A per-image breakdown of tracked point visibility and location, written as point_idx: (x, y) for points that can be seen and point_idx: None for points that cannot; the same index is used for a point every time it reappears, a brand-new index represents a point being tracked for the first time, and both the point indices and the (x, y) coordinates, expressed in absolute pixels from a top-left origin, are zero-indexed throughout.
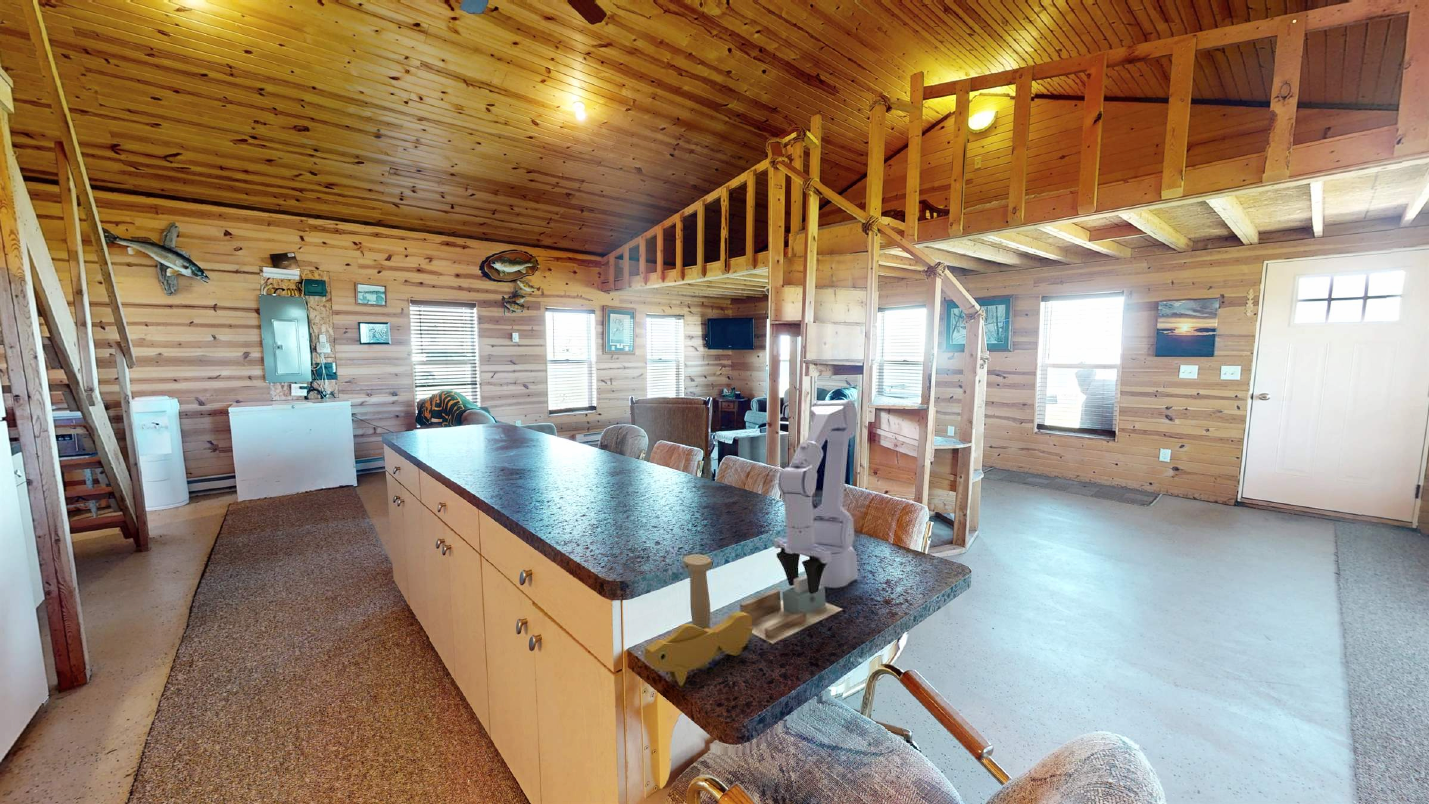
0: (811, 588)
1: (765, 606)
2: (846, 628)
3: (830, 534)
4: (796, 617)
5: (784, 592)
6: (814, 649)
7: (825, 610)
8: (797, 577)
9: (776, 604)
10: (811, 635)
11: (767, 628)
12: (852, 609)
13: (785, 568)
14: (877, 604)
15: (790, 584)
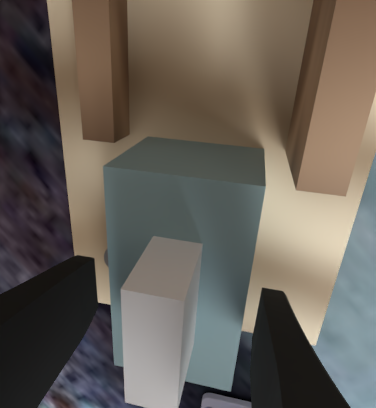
0: (47, 272)
1: (321, 6)
2: (4, 204)
3: None
4: (78, 60)
5: (242, 184)
6: None
7: None
8: (251, 374)
9: (294, 123)
10: (35, 65)
11: None
12: (92, 326)
13: (310, 404)
14: (67, 381)
15: (265, 292)
